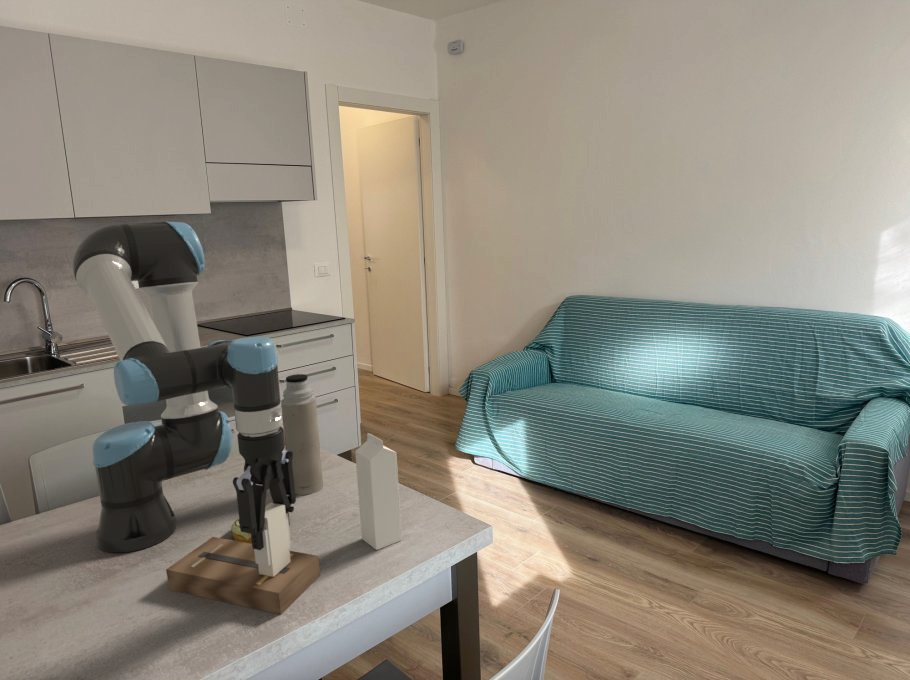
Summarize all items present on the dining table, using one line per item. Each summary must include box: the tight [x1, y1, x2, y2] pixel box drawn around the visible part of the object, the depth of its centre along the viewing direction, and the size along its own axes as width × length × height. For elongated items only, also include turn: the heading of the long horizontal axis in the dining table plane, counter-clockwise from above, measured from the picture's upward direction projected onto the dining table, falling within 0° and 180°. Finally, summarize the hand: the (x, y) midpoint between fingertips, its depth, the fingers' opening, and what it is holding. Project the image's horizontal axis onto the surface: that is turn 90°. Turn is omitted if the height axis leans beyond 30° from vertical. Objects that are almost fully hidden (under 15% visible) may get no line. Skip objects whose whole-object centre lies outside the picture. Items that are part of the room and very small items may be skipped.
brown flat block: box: [165, 536, 321, 615], centre depth 116 cm, size 24×12×4 cm, turn 69°
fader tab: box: [258, 502, 291, 577], centre depth 112 cm, size 3×5×11 cm, turn 159°
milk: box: [355, 432, 403, 551], centre depth 128 cm, size 6×6×22 cm
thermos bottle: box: [280, 373, 324, 496], centre depth 153 cm, size 8×8×28 cm
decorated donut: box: [230, 517, 252, 544], centre depth 135 cm, size 10×11×4 cm
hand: (273, 554), depth 113 cm, fingers closed on fader tab, 5 cm apart
